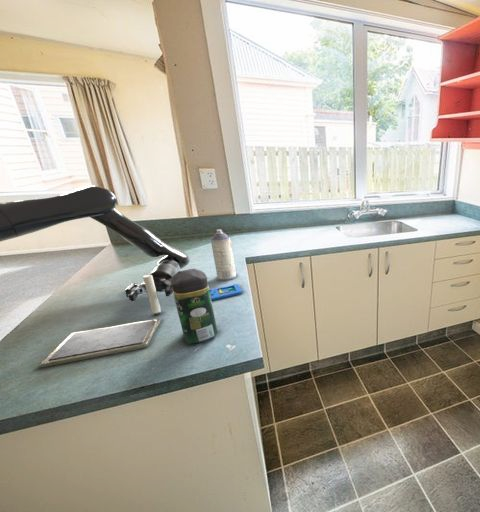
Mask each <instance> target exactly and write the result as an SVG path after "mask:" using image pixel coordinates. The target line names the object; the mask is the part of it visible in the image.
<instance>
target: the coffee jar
mask: <svg viewBox="0 0 480 512" xmlns="http://www.w3.org/2000/svg"><path fill="white" fill-rule="evenodd" d="M171 284H172V290H173V293H172V295H173V298H174V303H175V307H176V311H177V315H178V319H179V323H180V326H181V331H182V334H183V338H184V340H185V341H186V343H187V344H200V343H204V342H207V341H210V340H211V339H213V338H214V337H216V336H217V335H218V327H217V326H218V325H217V321H216V318H215V312H214V307H213V302H212V300H211V297H210V292H209V290H210V287H209V282H208V277H207V275H206V274H205V272H203V270H199V269H196V268H190V269H184V270H180V271H179V272H177V273H176V274H175V275H174V276H173V277H172V278H171Z"/></svg>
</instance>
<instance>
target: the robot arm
mask: <svg viewBox="0 0 480 512" xmlns="http://www.w3.org/2000/svg"><path fill="white" fill-rule="evenodd" d="M117 204H118V200H117V196H116V195H115V194H114V193H113V192H112V191H111V190H109V189H107V188H106V187H103V186H98V185H88V186H82V187H78V188H75V189H73V191H71V192H67V193H63V194H60V195H56V196H51V197H45V198H33V199H24V200H15V201H7V202H2V203H0V242H4V241H7V240H12V239H15V238H19V237H22V236H23V237H24V236H25V235H29V234H33V233H36V232H39V231H42V230H45V229H48V228H52V227H55V226H57V225H59V224H63V223H66V222H70V221H75V220H80V219H86V218H90V219H92V220H94V221H96V222H98V223H99V224H101V225H103V226H105V227H106V228H108V229H109V230H111V231H113V232H114V233H116V234H117V235H118V236H120V237H121V238H123V239H124V240H125V241H127V242H128V243H129V244H131V245H132V246H134V247H135V248H137V249H138V250H139V251H140V252H142V253H143V254H144V255H146V256H147V257H148V258H152V259H154V258H158V257H162V256H164V257H162V258H161V259H159V260H158V261H157V263H156V267H154V268H153V269H152V270H151V272H150V273H149V274H148V275H152V276H153V280H154V284H155V288H156V292H157V293H163V292H164V294H165V297H167V298H168V297H170V296H171V295H173V290H172V284H171V278H172V277H173V276H174V275H175V274H176V273H177V272H179V271H181V270H182V269H183V268H185V267H186V266H188V265H189V264H190V257H189V255H188V254H187V253H186V252H185V251H183V250H181V249H179V248H176V247H173V246H172V245H170V244H168V243H166V242H165V241H163V240H161V239H160V238H159V237H158V236H157V235H155V233H153V232H151V231H150V230H148V229H147V228H145V227H144V226H142V225H141V224H138V223H136V222H135V221H134V220H132V219H130V218H128V217H127V216H125V215H124V214H123V213H121V212H120V211H119V210H118V209H117V208H116V207H117ZM124 291H125V295H126V298H128V300H129V301H130V302H135V301H136V300H137V299H138V297H140V296H141V295H142V296H146V295H148V294H147V290H146V287H145V283H144V282H142V283H140V284H137V282H132V283H131V284H129V285H128V286H127V287H126V288H125V289H124Z"/></svg>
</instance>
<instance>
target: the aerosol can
mask: <svg viewBox="0 0 480 512" xmlns="http://www.w3.org/2000/svg"><path fill="white" fill-rule="evenodd" d="M210 245H211V249H212V255H213V261H214V266H215V273H216V277H217V281H221V282H225V281H230V280H232V279H233V280H234V279H235V278H236V277H237V273H236V266H235V261H234V260H235V259H234V255H233V248H232V241H231V238H230V235H227V233H225V232H224V231H223V229H216V233H214V235H212V237H210Z"/></svg>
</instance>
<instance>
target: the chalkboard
mask: <svg viewBox="0 0 480 512" xmlns="http://www.w3.org/2000/svg"><path fill="white" fill-rule="evenodd" d="M161 320H162V319H161V318H154V319H148V320H142V321H136V322H130V323H124V324H118V325H112V326H106V327H100V328H93V329H87V330H81V331H74V332H71V333H70V334H69V335H68V336H67V337H66V338H65V339H64V340H63V341H61V343H60V344H59V345H58V346H57V347H56V348H55V349H54V350H53V351H52V352H51V353H50V354H49V355H48V356H47V357H46V358H45V359H43V361H42V362H41V363H40V367H41V368H47V367H52V366H57V365H58V366H59V365H62V364H67V363H72V362H78V361H83V360H88V359H93V358H100V357H105V356H108V355H109V356H110V355H114V354H119V353H125V352H129V351H130V352H131V351H135V350H140V349H146V348H148V347H149V345H150V342H151V340H152V338H153V337H154V335H155V333H156V331H157V329H158V328H159V325H160V324H161V322H162V321H161Z"/></svg>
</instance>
